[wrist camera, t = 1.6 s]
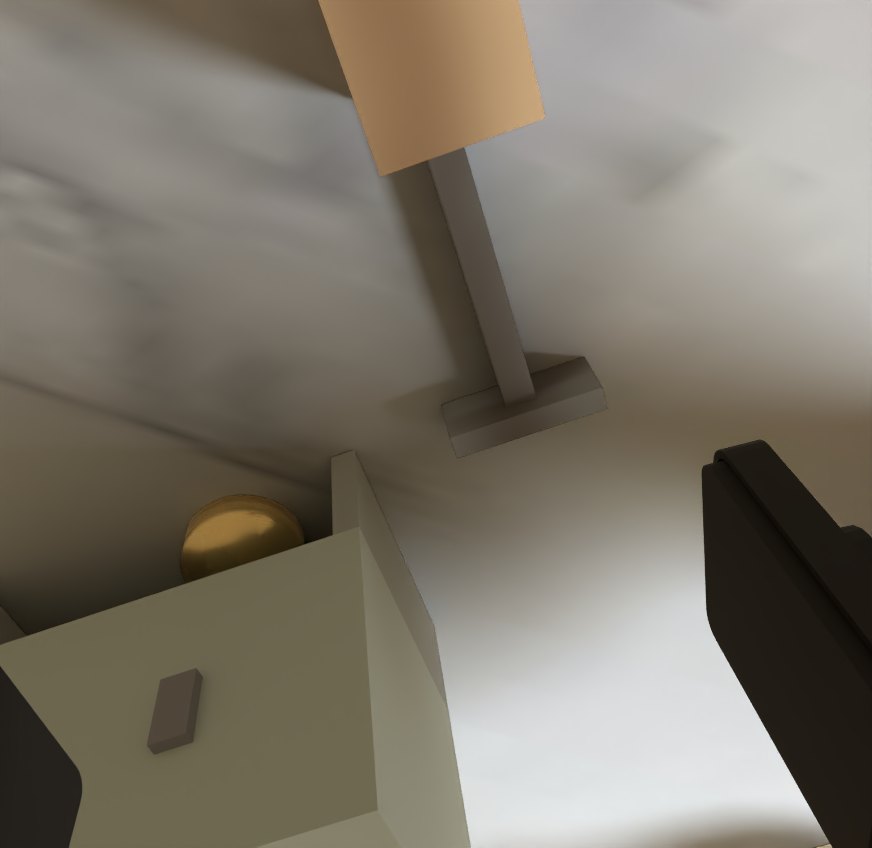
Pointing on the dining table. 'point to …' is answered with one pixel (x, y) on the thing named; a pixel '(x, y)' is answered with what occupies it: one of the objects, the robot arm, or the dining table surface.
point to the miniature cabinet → (258, 702)
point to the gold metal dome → (236, 535)
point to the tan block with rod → (459, 174)
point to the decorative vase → (825, 846)
